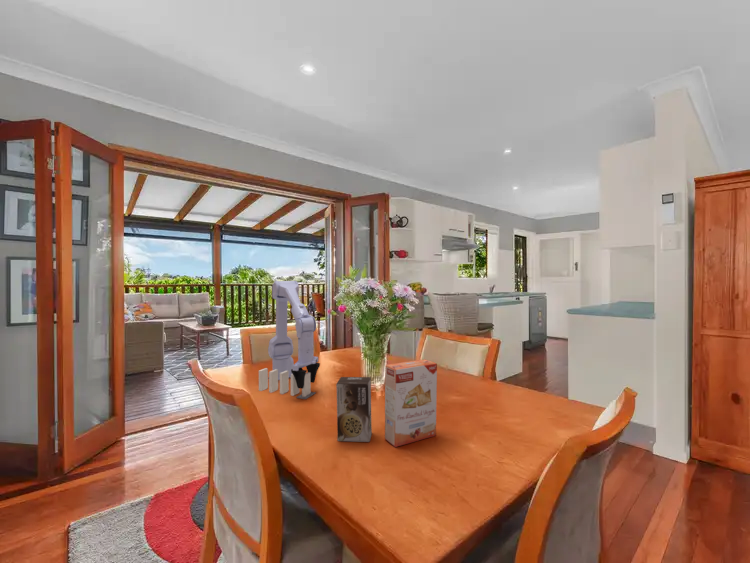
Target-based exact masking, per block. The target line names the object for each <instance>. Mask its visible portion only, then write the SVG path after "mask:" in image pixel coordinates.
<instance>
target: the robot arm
mask: <svg viewBox="0 0 750 563" xmlns="http://www.w3.org/2000/svg"><path fill="white" fill-rule="evenodd" d="M299 289H300V284H299V283H298V281H297V280H275V281H274V282H273V283H272V288H271V290H272V292H271V295H272V299H274V300H275V302H276V303H275V304H276V306H275V335H274V336H273V337H272V338H270V340H269V342H268V348H267V352H268V356H269V358H271V359H272V360H271V361H272V371H273V370H275V369H277V370H278V381H280V373H281V372H284V371H289V379H291V374H293V375H294V377H295V380H296V383H297V387H298V388H299V389H300V390H302V388H303V387H304V378H305V374H306V373H307V372H310V381H311V383H315V380H316V376H317V373H318V371H319V368H320V366H321V363H320V362H319V357H318V356H314V348H315V346H314V332H316V329H317V321H316V319H315V317H314V316H312V315H311V314H310V313H309V311H308V309H307V307H306V304H304V303H301V300H300V297H299ZM288 302H289V303H288ZM288 304H290V305H291V309H290V312H291V314H292V316H293V318H294V321H295V331H296V337H297V352H298V355H297V358H298V360H297V361H296V362H295V363H294V358H293V357H292V355H293V354H294V343H293V339H292V338H291V337H290V336H288ZM305 367H306V369H303V368H305ZM268 380H269V377H268Z"/></svg>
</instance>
